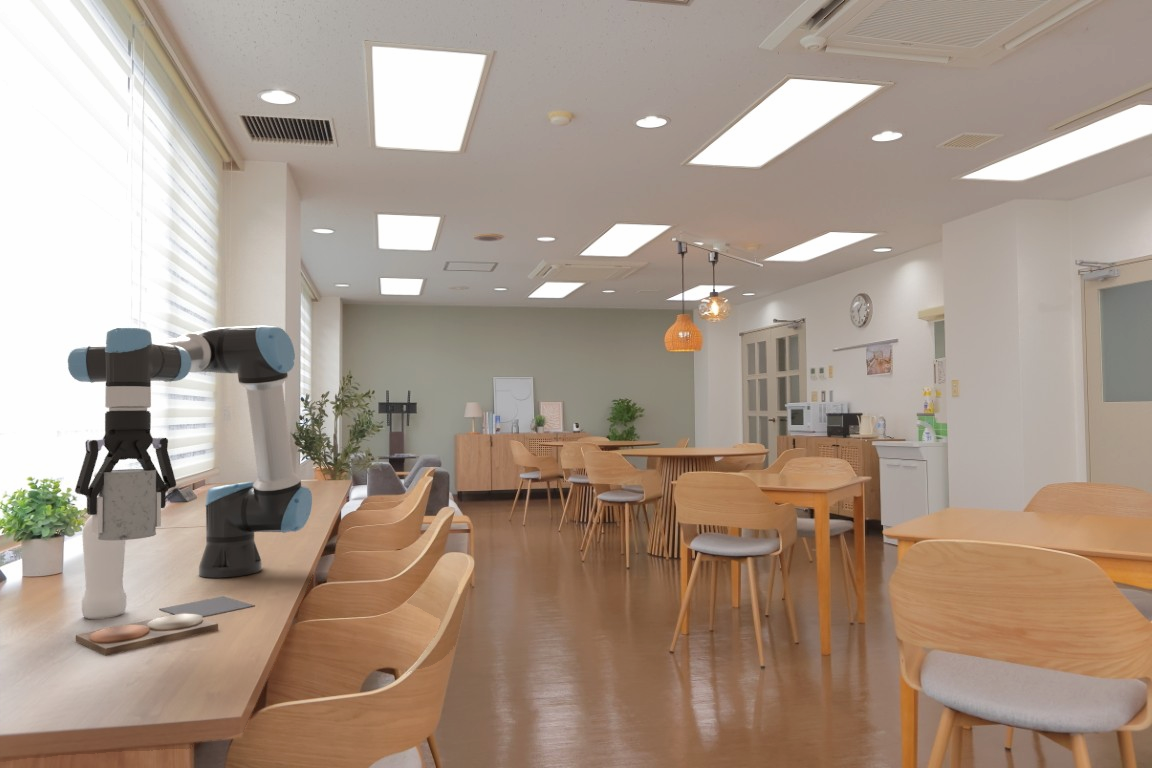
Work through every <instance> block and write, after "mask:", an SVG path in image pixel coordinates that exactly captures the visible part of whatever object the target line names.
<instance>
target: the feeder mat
mask: <svg viewBox="0 0 1152 768" xmlns="http://www.w3.org/2000/svg"><path fill="white" fill-rule="evenodd" d="M255 606H256V605H255V604H252V603H248V602H245V601H241V600H238V599H234V598H230V597H227V596H218V597H211V598H208V599H203V600H195V601H193V602H186V603H183V604H176V605H171V606H165V607H162V608H159V611H162V612H165V613H168V614H170V615H173V614H174V615H175V614H180V613H188V614H198V615H201V616H202V617H203V618H206V617H210V616H214V615H215V616H216V615H218V614H224V613H229V612H233V611H234V612H235V611H239V610H244V609H246V608H252V607H255Z"/></svg>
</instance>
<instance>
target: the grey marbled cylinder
mask: <svg viewBox="0 0 1152 768" xmlns="http://www.w3.org/2000/svg"><path fill="white" fill-rule="evenodd" d="M156 469H157V468H156ZM156 469H155V470H151V471H148V470H144V469H143V468H130V469H129V468H128V469H113V470H112V471H111V472H104V485H103V487H102V489H101V491H100V492H99V497H103V527H102V533H98V539H99V540H125V541H128V540H137V539H138V540H139V539H146V538H150V537H155V536H156V535H157V533H156V530H157V527H156V471H158V470H156ZM100 473H101V472H100Z"/></svg>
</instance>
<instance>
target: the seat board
mask: <svg viewBox="0 0 1152 768" xmlns="http://www.w3.org/2000/svg"><path fill="white" fill-rule="evenodd" d="M218 630H219V623H218V622H215V621H212V620H210V619H209V620H208V619H205V618H204V617H202V616H201V615H198V614H188V613H180V614H175V615H173V614H170V615H165V616H160V617H156V618H152V619H148V620H147V619H146V620H143V621H136V622H132V623H128V624H122V625H117V626H112V627H107V628H102V629H97V630H93V631H87V632H83V633H78V634H75V642H76V643H78V644H79V645H83V646H84V647H86V648H89V649H91V650H93V651H95V652H97V653H99V654H102V656H103V655H104V656H109V655H114V654H119V653H122V652H128V651H130V650H136V649H139V648H140V649H141V648H144V647H150V646H154V645H159V644H161V643H166V642H171V641H176V640H180V639H183V638H188V637H193V636H197V635H202V634H205V633H206V634H207V633H210V632H214V631H218Z"/></svg>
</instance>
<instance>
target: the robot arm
mask: <svg viewBox="0 0 1152 768" xmlns="http://www.w3.org/2000/svg"><path fill="white" fill-rule="evenodd" d="M105 339H106V341H105V344H87V345H79V346H75V347H74V348H73V349H71V351H70V352H69V355H68V357H67V366H68V367H67V369H68V372H69V374H70V375H71V377H72V378H73V379H74V380H75V381H77V382H82V383H83V382H84V383H101V382H102V383H105V404H104V405H105V408H107V409H108V410H107V411H106V412H105V413H104V432H105V433H104V435H103V438H101V439H87V440H86V441H85V455H84V459H83V462H82V466H81V469H80V472H79V476H78V479H77V483H76V486H75V488H74V492H75V493H76V494H78V495H82V496H85V497H86V513H87V515H90V516H91V515H92V532H94V533H102V527H103V497H99V496H98V494H99V492H100V491H101V489H102V487H103V485H104V472H111V471H112V470H114V468H115V466H116V465H117V464H118V463H119V461H120V460H121V461H122V460H123V461H125V460H128V459H129V460H130V459H131V460H136V461H137V462H138V463H139V464H140V465H141V467H142V468H141V469H144V470H148V471H151V470H155V469H156V470H157V468H156V466H155V464H154V463H153V461H152V457H151V456H150V453H149V452H148V449H149V448H150V447H151V445H152V446H153V447H152V448H153V449H155V454H156V458H157V462H158V465H159V468H160V469H159V470H160V473H161V475H160V473H159V471H158V470H157V471H156V528H160V527H162V522H161V521H162V509H165V508H166V505H167V503H166V502H167V501H166V499H167V498H166V497H167V496H166V493H167V492H168V491H169V489H173V488H175V487H177V482H176V478H175V474H174V470H173V466H172V462H171V460H170V456H169V452H168V446H169V445H168V444H169V439H168V438H167V437H153V436H152V433H151V423H152V422H151V421H152V419H151V415H152V414H151V412H150V410H148V409H149V408H151V407H152V393H151V392H152V382H154V381H156V382H158V381H159V382H160V381H161V382H170V383H171V382H177V381H181V380H183V379H185V378H186V377H187V376H188V375H189V373H202V372H203V373H216V374H217V373H218V374H237V378H238V383H239V384H240V385H241V386H243V387H245V390H246V397H247V404H248V413H249V417H250V425H251V433H252V440H253V448H254V455H255V462H256V463H255V464H256V471H257V477H258V478H257V479H256V481H255V482H254V481H246V482H245V481H244V482H238V483H233V484H232V483H230V484H224V485H220V486H215V487H210V488H209V489H208V490H207V493H206V499H205V525H206V526H205V527H206V530H205V534H206V535H205V536H206V543H205V548H204V550H203V553H202V556H201V559H200V562H199V566H198V576H199V577H203V578H209V579H210V578H213V579H215V578H222V579H223V578H233V577H241V576H247V575H251V574H256V573H258V572H260V571H262V563H263V562H262V559H261V556H260V553H259V550H258V548H257V545H256V540H255V533H282V534H285V533H292V532H295V533H296V532H299V531H301V530H302V529H303V528H304V527H305V526H306V524H307V522H308V520H309V519H310V515H311V512H312V508H313V507H312V505H313V495H312V491H311V489H310V488H309V487H307V486H303V485H302V483H301V477H300V476H299V475H298V474H296V473H295V472H294V465H293V459H292V458H293V457H292V451H291V450H292V449H291V444H290V442H291V441H290V434H289V426H288V419H287V410H286V403H285V402H286V401H285V395H284V388H283V384H284V383H285V381H286V380H287V379H288V377H289V372H290V371H292V370H293V367H294V366H295V359H296V354H295V349H294V347H295V346H294V345H293V341H292V339H291V338H290V335H289V334H288V333H287V332H286V331H285V329H283V328H281V327H279V326H270V325H251V326H250V325H249V326H248V325H247V326H224V327H223V326H222V327H216V328H215V327H214V328H211V329H205V330H201V331H195V332H188V333H184V334H182V335H181V336H179V337H177V338H176V337H175V338H167V339H166V338H165V339H163V338H162V339H152V333H151V332H150V330H148V329H147V328H141V327H132V326H131V327H129V326H128V327H124V326H123V327H119V326H118V327H113V328H109V329H108V330H107V332H106V337H105ZM102 447H104V448H105V449H106V450H107V452H108V453H107V454H106V456H105V457H104V459H103V462H102V464H101V466H100V468H99V469H98V471H97V472H98V473H97V475H96V476H95V477H94V478H93V479H92V477H93V473H94V471H95V467H96V464H97V460H98V456H99V452H100V451H101V450H102ZM100 472H101V473H100Z"/></svg>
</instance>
